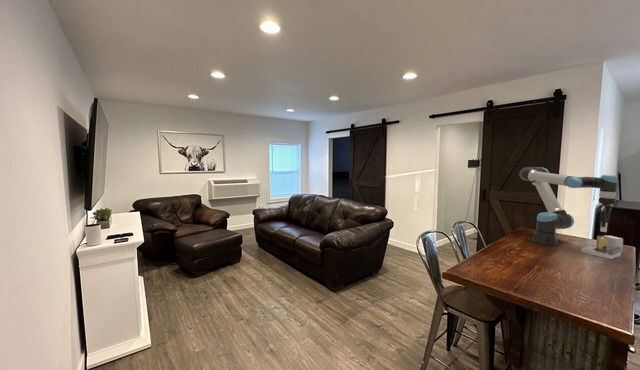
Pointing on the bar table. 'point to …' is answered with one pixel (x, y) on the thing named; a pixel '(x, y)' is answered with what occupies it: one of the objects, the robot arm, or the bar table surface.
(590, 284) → the bar table surface
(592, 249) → the plate
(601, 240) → the bushing
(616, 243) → the small box
